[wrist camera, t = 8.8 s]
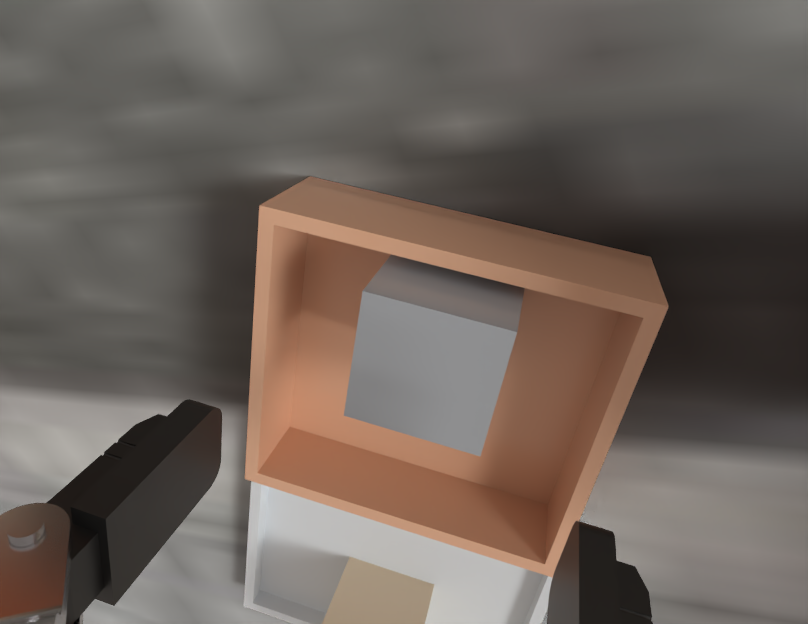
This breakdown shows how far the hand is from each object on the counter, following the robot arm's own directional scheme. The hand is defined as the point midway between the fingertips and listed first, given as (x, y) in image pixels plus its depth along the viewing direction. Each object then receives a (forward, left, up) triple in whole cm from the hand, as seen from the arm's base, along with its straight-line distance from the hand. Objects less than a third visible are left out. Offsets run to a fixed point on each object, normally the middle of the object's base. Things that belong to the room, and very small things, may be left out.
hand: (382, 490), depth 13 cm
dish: (0, +2, -10) cm, 11 cm away
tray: (0, +14, -10) cm, 17 cm away
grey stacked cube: (0, 0, -9) cm, 9 cm away
